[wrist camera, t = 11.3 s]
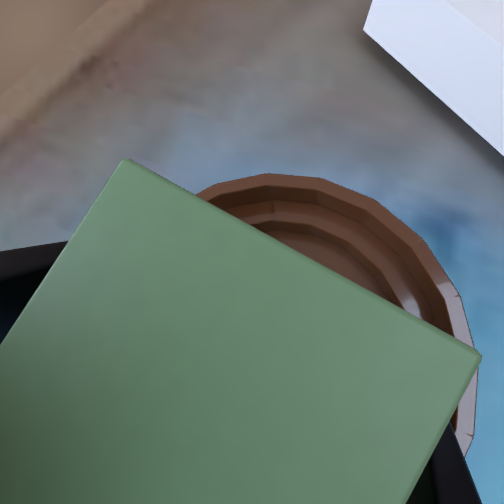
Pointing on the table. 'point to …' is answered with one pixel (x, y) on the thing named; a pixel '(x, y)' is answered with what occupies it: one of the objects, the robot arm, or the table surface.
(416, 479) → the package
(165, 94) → the table surface
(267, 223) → the bowl
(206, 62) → the table surface
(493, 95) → the bracket
